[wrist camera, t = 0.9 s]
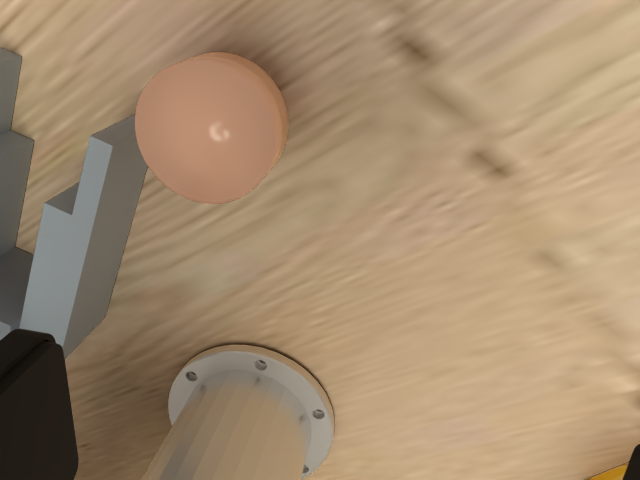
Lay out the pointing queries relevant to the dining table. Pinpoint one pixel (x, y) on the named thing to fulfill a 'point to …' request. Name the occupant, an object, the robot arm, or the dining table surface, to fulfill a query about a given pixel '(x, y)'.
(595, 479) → the beverage box
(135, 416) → the dining table surface
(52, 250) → the grey slotted stand
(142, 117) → the peg
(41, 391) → the robot arm
